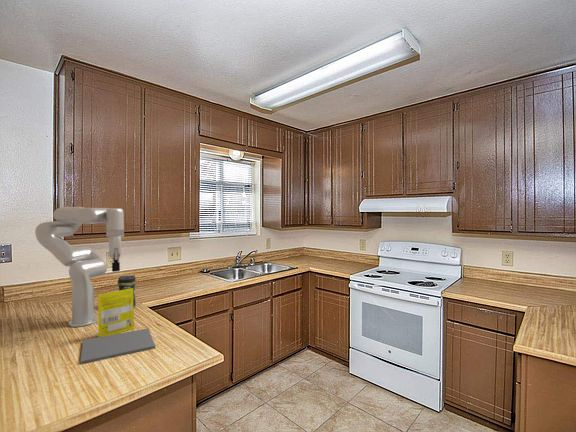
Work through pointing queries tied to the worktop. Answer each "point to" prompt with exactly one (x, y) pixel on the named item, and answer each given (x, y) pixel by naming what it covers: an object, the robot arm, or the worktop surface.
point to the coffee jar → (128, 284)
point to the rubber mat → (116, 345)
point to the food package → (115, 312)
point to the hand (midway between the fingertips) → (115, 270)
